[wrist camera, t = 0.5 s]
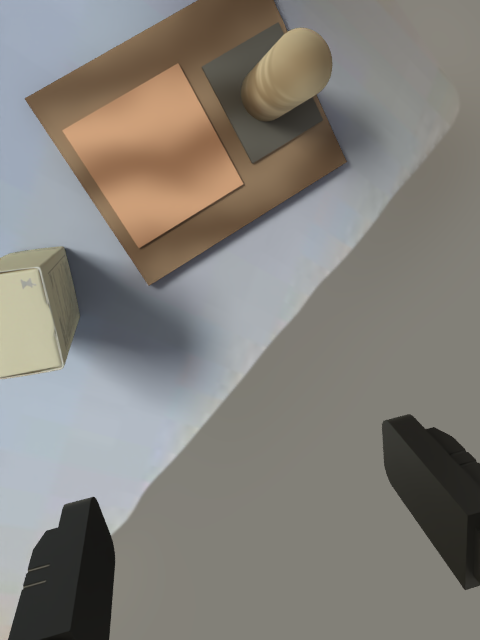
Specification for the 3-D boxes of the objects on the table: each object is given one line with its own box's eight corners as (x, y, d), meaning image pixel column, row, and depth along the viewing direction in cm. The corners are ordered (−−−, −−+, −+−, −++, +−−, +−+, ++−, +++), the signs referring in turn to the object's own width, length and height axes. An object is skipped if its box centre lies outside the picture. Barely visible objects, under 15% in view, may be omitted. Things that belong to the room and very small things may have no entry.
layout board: (27, 101, 34) (-6, 62, 25) (254, -28, 36) (297, -107, 27) (148, 284, 39) (155, 304, 30) (341, 163, 41) (402, 149, 32)
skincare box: (7, 252, 36) (-48, 271, 24) (65, 244, 37) (39, 259, 25) (27, 331, 37) (-16, 385, 26) (82, 322, 38) (65, 370, 27)
